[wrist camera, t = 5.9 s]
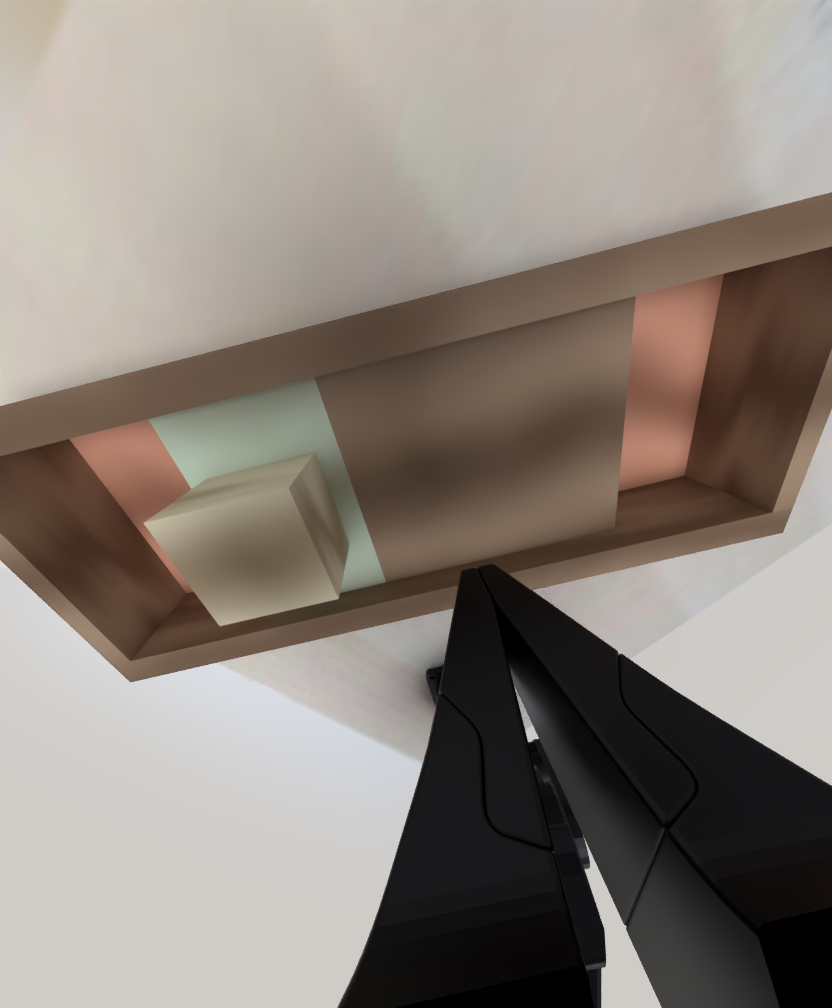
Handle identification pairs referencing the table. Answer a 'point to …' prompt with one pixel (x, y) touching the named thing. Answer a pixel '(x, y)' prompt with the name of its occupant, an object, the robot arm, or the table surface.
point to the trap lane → (449, 437)
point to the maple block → (257, 540)
